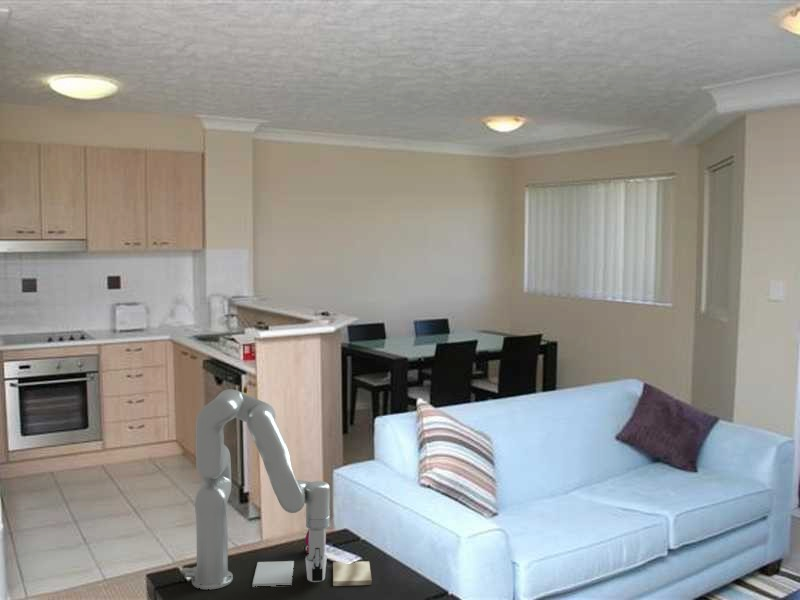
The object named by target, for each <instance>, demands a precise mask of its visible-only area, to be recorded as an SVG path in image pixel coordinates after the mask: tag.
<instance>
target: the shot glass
mask: <svg viewBox="0 0 800 600" xmlns="http://www.w3.org/2000/svg"><path fill="white" fill-rule="evenodd" d="M314 558H315V557H314ZM319 558H321V557H319ZM327 559H328V557H327V554H326V553H324V559H323V560H322V581H312V568H313V559H312V560H309V554H307V555H306V556H305V568H306V579H307V581H308V582H311V583H319V582H323V581H324V580H325V578H326V570H327V568H326V567H327ZM319 562H320V561H319Z"/></svg>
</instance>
